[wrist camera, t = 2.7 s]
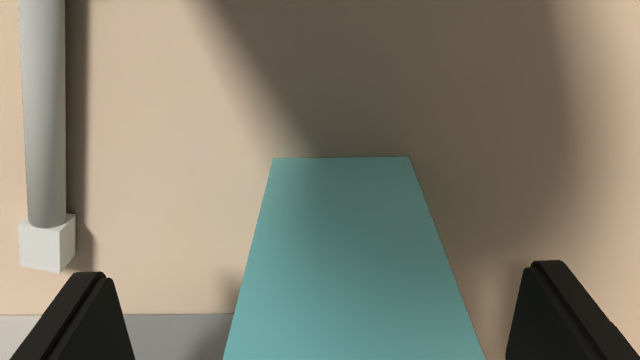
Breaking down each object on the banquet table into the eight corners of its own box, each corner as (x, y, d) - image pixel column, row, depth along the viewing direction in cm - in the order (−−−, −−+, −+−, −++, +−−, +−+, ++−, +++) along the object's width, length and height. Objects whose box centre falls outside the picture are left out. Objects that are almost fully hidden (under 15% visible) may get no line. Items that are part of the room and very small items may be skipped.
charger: (408, 156, 14) (505, 411, 6) (401, 266, 16) (469, 565, 8) (273, 158, 14) (209, 412, 6) (281, 267, 16) (238, 564, 8)
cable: (22, -134, 11) (-5, -142, 10) (76, -120, 11) (53, -125, 10) (38, 247, 15) (20, 266, 14) (75, 254, 16) (60, 273, 15)
